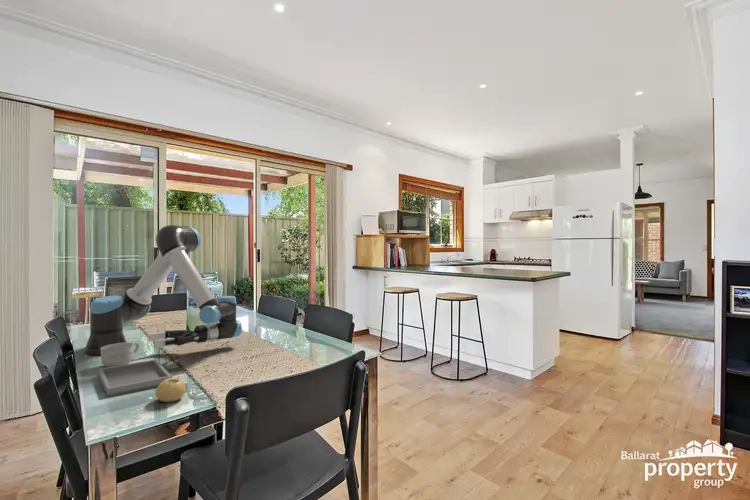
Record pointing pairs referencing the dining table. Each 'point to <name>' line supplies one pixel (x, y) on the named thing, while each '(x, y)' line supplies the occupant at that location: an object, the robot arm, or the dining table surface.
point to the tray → (132, 377)
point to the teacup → (118, 353)
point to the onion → (170, 390)
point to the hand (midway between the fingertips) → (151, 340)
